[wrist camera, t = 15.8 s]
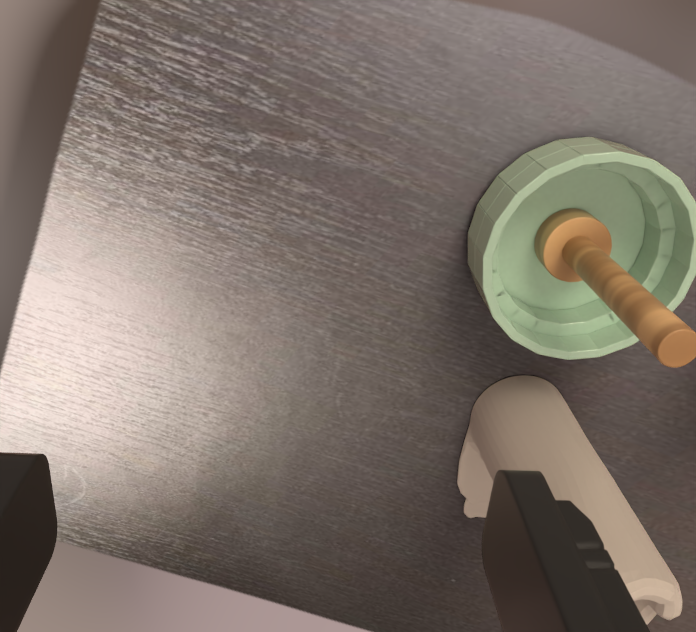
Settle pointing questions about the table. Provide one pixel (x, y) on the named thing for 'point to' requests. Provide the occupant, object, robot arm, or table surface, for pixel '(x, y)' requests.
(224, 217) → the table surface
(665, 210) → the bowl
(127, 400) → the table surface
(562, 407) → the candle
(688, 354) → the pestle
